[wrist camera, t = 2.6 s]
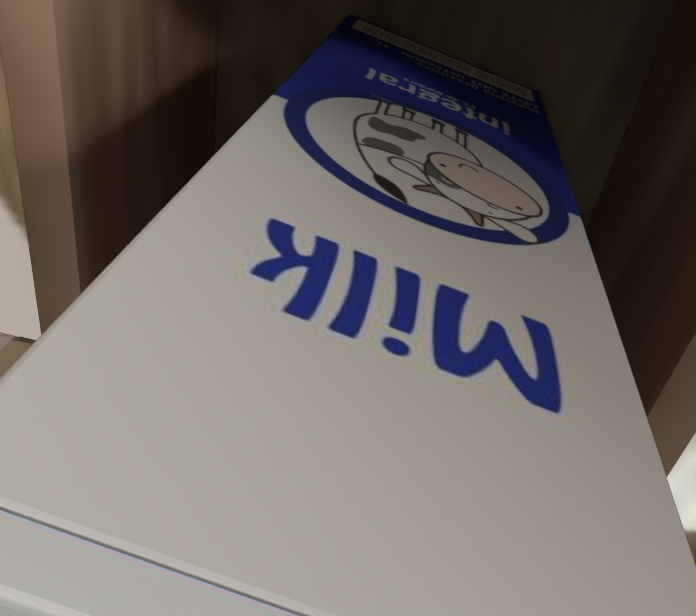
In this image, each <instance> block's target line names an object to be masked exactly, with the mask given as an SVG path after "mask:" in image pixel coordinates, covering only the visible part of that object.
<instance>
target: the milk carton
mask: <svg viewBox="0 0 696 616" xmlns="http://www.w3.org/2000/svg"><path fill="white" fill-rule="evenodd" d="M0 605H2V606H5V607H8V608H12V609H15V610H18V611H21V612H25V613H28V614H31V615H34V616H696V565H695V562H694V559H693V556H692V553H691V550H690V547H689V544H688V541H687V538H686V535H685V532H684V529H683V526H682V523H681V520H680V517H679V514H678V511H677V508H676V504H675V501H674V498H673V495H672V492H671V489H670V486H669V483H668V480H667V477H666V474H665V471H664V468H663V465H662V462H661V459H660V456H659V453H658V450H657V447H656V444H655V441H654V438H653V435H652V432H651V429H650V426H649V423H648V420H647V417H646V414H645V411H644V408H643V405H642V401H641V398H640V395H639V392H638V389H637V386H636V383H635V380H634V377H633V374H632V371H631V368H630V365H629V362H628V359H627V356H626V353H625V350H624V347H623V344H622V341H621V338H620V335H619V332H618V329H617V326H616V323H615V320H614V317H613V314H612V311H611V308H610V305H609V302H608V298H607V295H606V292H605V289H604V286H603V283H602V280H601V277H600V274H599V271H598V268H597V265H596V262H595V259H594V256H593V253H592V250H591V247H590V244H589V241H588V238H587V235H586V232H585V229H584V226H583V223H582V220H581V217H580V214H579V211H578V208H577V205H576V202H575V199H574V195H573V192H572V189H571V186H570V183H569V180H568V177H567V174H566V171H565V168H564V165H563V162H562V159H561V156H560V153H559V150H558V147H557V144H556V141H555V138H554V135H553V132H552V129H551V126H550V123H549V120H548V117H547V114H546V111H545V108H544V105H543V102H542V99H541V96H540V92H539V91H536V90H534V89H532V88H529V87H527V86H524V85H522V84H519V83H517V82H514V81H512V80H510V79H507V78H505V77H502V76H500V75H497V74H495V73H492V72H490V71H488V70H485V69H483V68H480V67H478V66H475V65H473V64H471V63H468V62H466V61H463V60H461V59H458V58H456V57H453V56H451V55H449V54H446V53H444V52H441V51H439V50H436V49H434V48H431V47H429V46H427V45H424V44H422V43H419V42H417V41H414V40H412V39H409V38H407V37H405V36H402V35H400V34H397V33H395V32H392V31H390V30H387V29H385V28H383V27H380V26H378V25H375V24H373V23H370V22H368V21H365V20H363V19H361V18H358V17H356V16H353V15H350V14H349V15H348V16H347V17H346V18H345V19H344V20H343V21H342V22H341V23H340V24H339V26H338V27H337V28H336V29H335V30H334V31H333V32H332V33H331V34H330V35H329V36H328V37H327V38H326V39H325V40H324V41H323V42H322V43H321V44H320V45H319V46H318V47H317V48H316V49H315V51H314V52H313V53H312V54H311V55H310V56H309V57H308V58H307V59H306V60H305V61H304V62H303V63H302V64H301V65H300V66H299V67H298V68H297V69H296V70H295V71H294V72H293V73H292V74H291V76H290V77H289V78H288V79H287V80H286V81H285V82H284V83H283V84H282V85H281V86H280V87H279V88H278V89H277V90H276V91H275V92H274V93H273V94H272V95H271V96H270V97H269V98H268V99H267V101H266V102H265V103H264V104H263V105H262V106H261V107H260V108H259V109H258V110H257V111H256V112H255V113H254V114H253V115H252V116H251V117H250V118H249V119H248V120H247V121H246V122H245V123H244V124H243V126H242V127H241V128H240V129H239V130H238V131H237V132H236V133H235V134H234V135H233V136H232V137H231V138H230V139H229V140H228V141H227V142H226V143H225V144H224V145H223V146H222V147H221V148H220V149H219V151H218V152H217V153H216V154H215V155H214V156H213V157H212V158H211V159H210V160H209V161H208V162H207V163H206V164H205V165H204V166H203V167H202V168H201V169H200V170H199V171H198V172H197V173H196V174H195V176H194V177H193V178H192V179H191V180H190V181H189V182H188V183H187V184H186V185H185V186H184V187H183V188H182V189H181V190H180V191H179V192H178V193H177V194H176V195H175V196H174V197H173V198H172V199H171V201H170V202H169V203H168V204H167V205H166V206H165V207H164V208H163V209H162V210H161V211H160V212H159V213H158V214H157V215H156V216H155V217H154V218H153V219H152V220H151V221H150V222H149V223H148V224H147V226H146V227H145V228H144V229H143V230H142V231H141V232H140V233H139V234H138V235H137V236H136V237H135V238H134V239H133V240H132V241H131V242H130V243H129V244H128V245H127V246H126V247H125V248H124V249H123V251H122V252H121V253H120V254H119V255H118V256H117V257H116V258H115V259H114V260H113V261H112V262H111V263H110V264H109V265H108V266H107V267H106V268H105V269H104V270H103V271H102V272H101V273H100V275H99V276H98V277H97V278H96V279H95V280H94V281H93V282H92V283H91V284H90V285H89V286H88V287H87V288H86V289H85V290H84V291H83V292H82V293H81V294H80V295H79V296H78V297H77V298H76V300H75V301H74V302H73V303H72V304H71V305H70V306H69V307H68V308H67V309H66V310H65V311H64V312H63V313H62V314H61V315H60V316H59V317H58V318H57V319H56V320H55V321H54V322H53V323H52V325H51V326H50V327H49V328H48V329H47V330H46V331H45V332H44V333H43V334H42V335H41V336H40V337H39V338H38V339H37V340H36V341H35V342H34V343H33V344H32V345H31V346H30V347H29V348H28V350H27V351H26V352H25V353H24V354H23V355H22V356H21V357H20V358H19V359H18V360H17V361H16V362H15V363H14V364H13V365H12V366H11V367H10V368H9V369H8V370H7V371H6V372H5V373H4V375H3V376H2V377H1V378H0Z"/></svg>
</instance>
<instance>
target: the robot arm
mask: <svg viewBox="0 0 696 616" xmlns="http://www.w3.org/2000/svg"><path fill="white" fill-rule="evenodd" d="M35 341H36V340H32V339H28V338H24V337H16V336H12V335H8V334H4V333H0V378H1V377H2V376H3V375H4V373H5V372H6V371H7V370H8V369H9V368H10V367H11V366H12V365H13V364H14V363H15V362H16V361H17V360H18V359H19V358H20V357H21V356H22V355H23V354H24V353H25V352H26V351H27V350H28V348H29V347H30V346H31V345H32V344H33V343H34V342H35ZM0 616H34V615H31V614H28V613H25V612H21V611H18V610H15V609H12V608H8V607H5V606H2V605H0Z"/></svg>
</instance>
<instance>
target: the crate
mask: <svg viewBox="0 0 696 616" xmlns="http://www.w3.org/2000/svg"><path fill="white" fill-rule="evenodd" d="M219 11H220V0H0V47H1V54H2V61H3V68H4V75H5V82H6V89H7V96H8V103H9V110H10V117H11V124H12V131H13V138H14V145H15V152H16V159H17V166H18V173H19V180H20V187H21V194H22V201H23V208H24V215H25V223H26V230H27V237H28V244H29V251H30V257H31V265H32V272H33V279H34V286H35V293H36V300H37V306H38V314H39V321H40V327H41V335H42V334H43V333H44V332H45V331H46V330H47V329H48V328H49V327H50V326H51V325H52V323H53V322H54V321H55V320H56V319H57V318H58V317H59V316H60V315H61V314H62V313H63V312H64V311H65V310H66V309H67V308H68V307H69V306H70V305H71V304H72V303H73V302H74V301H75V300H76V298H77V297H78V296H79V295H80V294H81V293H82V292H83V291H84V290H85V289H86V288H87V287H88V286H89V285H90V284H91V283H92V282H93V281H94V280H95V279H96V278H97V277H98V276H99V275H100V273H101V272H102V271H103V270H104V269H105V268H106V267H107V266H108V265H109V264H110V263H111V262H112V261H113V260H114V259H115V258H116V257H117V256H118V255H119V254H120V253H121V252H122V251H123V249H124V248H125V247H126V246H127V245H128V244H129V243H130V242H131V241H132V240H133V239H134V238H135V237H136V236H137V235H138V234H139V233H140V232H141V231H142V230H143V229H144V228H145V227H146V226H147V224H148V223H149V222H150V221H151V220H152V219H153V218H154V217H155V216H156V215H157V214H158V213H159V212H160V211H161V210H162V209H163V208H164V207H165V206H166V205H167V204H168V203H169V202H170V201H171V199H172V198H173V197H174V196H175V195H176V194H177V193H178V192H179V191H180V190H181V189H182V188H183V187H184V186H185V185H186V184H187V183H188V182H189V181H190V180H191V179H192V178H193V177H194V176H195V174H196V173H197V172H198V171H199V170H200V169H201V168H202V167H203V166H204V165H205V164H206V163H207V162H208V161H209V160H210V159H211V158H212V157H213V156H214V139H215V113H216V88H217V62H218V36H219ZM585 232H586V235H587V238H588V241H589V244H590V247H591V250H592V253H593V256H594V259H595V262H596V265H597V268H598V271H599V274H600V277H601V280H602V283H603V286H604V289H605V292H606V295H607V298H608V302H609V305H610V308H611V311H612V314H613V317H614V320H615V323H616V326H617V329H618V332H619V335H620V338H621V341H622V344H623V347H624V350H625V353H626V356H627V359H628V362H629V365H630V368H631V371H632V374H633V377H634V380H635V383H636V386H637V389H638V392H639V395H640V398H641V401H642V405H643V408H644V411H645V414H646V417H647V420H648V423H649V426H650V429H651V432H652V435H653V438H654V441H655V444H656V447H657V450H658V453H659V456H660V459H661V462H662V465H663V468H664V471H665V474H666V477H667V476H668V474H669V473H670V471H671V470H672V468H673V467H674V465H675V464H676V462H677V460H678V459H679V457H680V456H681V454H682V453H683V451H684V450H685V448H686V446H687V445H688V443H689V442H690V440H691V439H692V437H693V436H694V434H695V432H696V0H679V2H678V4H677V7H676V9H675V12H674V14H673V17H672V19H671V22H670V24H669V26H668V29H667V31H666V34H665V36H664V39H663V41H662V44H661V46H660V49H659V51H658V53H657V56H656V58H655V61H654V63H653V66H652V68H651V71H650V73H649V76H648V78H647V80H646V83H645V85H644V88H643V90H642V93H641V95H640V98H639V100H638V103H637V105H636V107H635V110H634V112H633V115H632V117H631V120H630V122H629V125H628V127H627V130H626V132H625V134H624V137H623V139H622V142H621V144H620V147H619V149H618V152H617V154H616V157H615V159H614V162H613V164H612V166H611V169H610V171H609V174H608V176H607V179H606V181H605V184H604V186H603V189H602V191H601V193H600V196H599V198H598V201H597V203H596V206H595V208H594V211H593V213H592V216H591V218H590V220H589V223H588V225H587V228H586V230H585Z"/></svg>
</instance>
